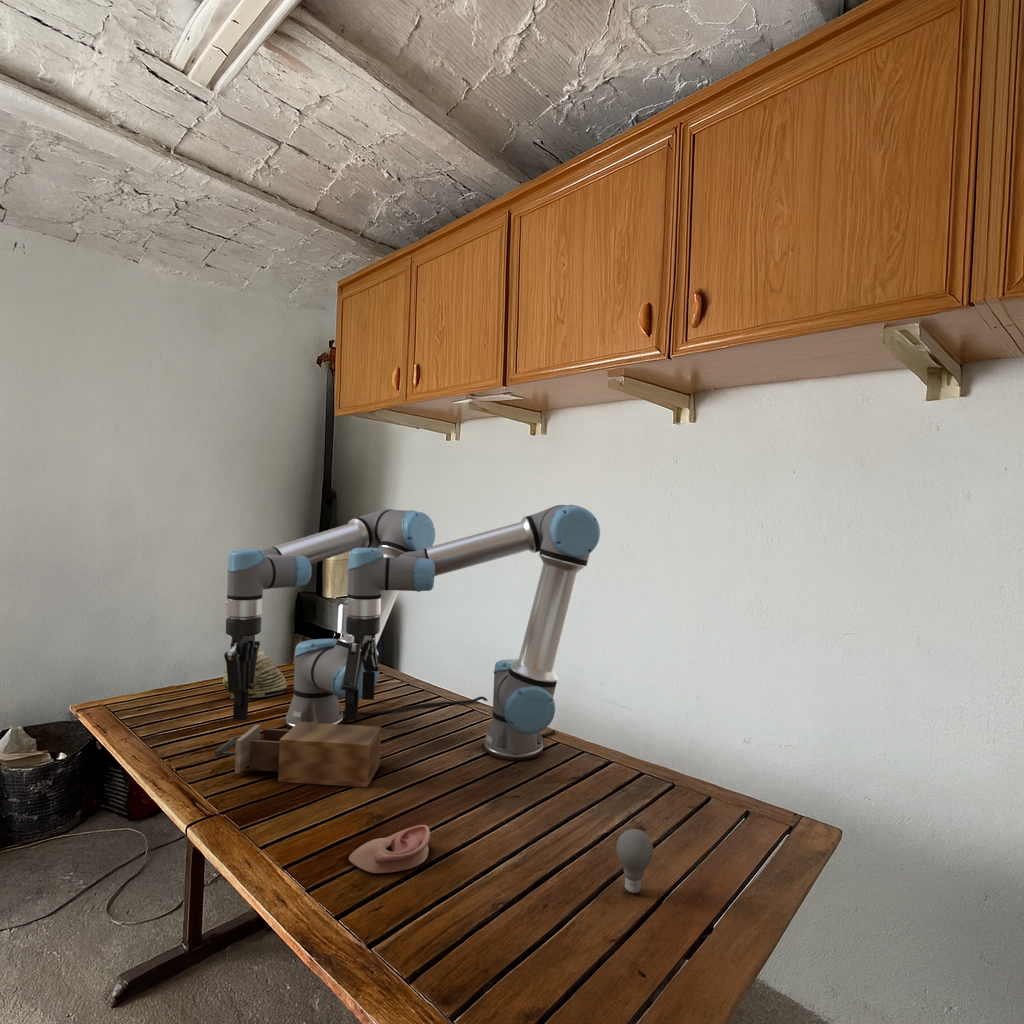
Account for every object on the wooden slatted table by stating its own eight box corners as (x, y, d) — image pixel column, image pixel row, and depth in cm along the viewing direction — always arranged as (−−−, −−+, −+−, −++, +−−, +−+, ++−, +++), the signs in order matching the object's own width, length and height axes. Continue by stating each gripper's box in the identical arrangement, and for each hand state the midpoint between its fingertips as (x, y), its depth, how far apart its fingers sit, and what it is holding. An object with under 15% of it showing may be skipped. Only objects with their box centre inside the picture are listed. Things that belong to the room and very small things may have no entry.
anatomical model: (341, 845, 108) (369, 813, 120) (340, 868, 108) (368, 833, 120) (414, 857, 106) (436, 823, 117) (413, 880, 106) (435, 844, 117)
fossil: (218, 695, 195) (220, 647, 195) (278, 685, 208) (279, 640, 207) (228, 703, 189) (230, 653, 188) (289, 692, 201) (290, 645, 201)
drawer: (211, 771, 141) (212, 738, 141) (233, 754, 151) (234, 723, 151) (316, 778, 140) (317, 745, 140) (331, 760, 150) (332, 729, 150)
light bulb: (610, 879, 108) (613, 822, 108) (644, 879, 109) (647, 822, 109) (619, 902, 102) (622, 840, 102) (655, 901, 103) (658, 840, 103)
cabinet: (278, 781, 140) (279, 739, 140) (297, 761, 151) (298, 721, 151) (366, 787, 139) (368, 744, 139) (379, 766, 150) (381, 726, 150)
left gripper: (241, 610, 152) (237, 708, 152) (213, 621, 139) (209, 727, 139) (272, 612, 152) (268, 710, 152) (246, 622, 138) (243, 729, 139)
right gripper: (362, 606, 156) (359, 691, 157) (328, 625, 132) (325, 727, 132) (392, 607, 156) (389, 693, 157) (364, 627, 131) (360, 729, 132)
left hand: (240, 718), depth 146 cm, fingers closed
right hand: (360, 708), depth 144 cm, fingers open, 13 cm apart
